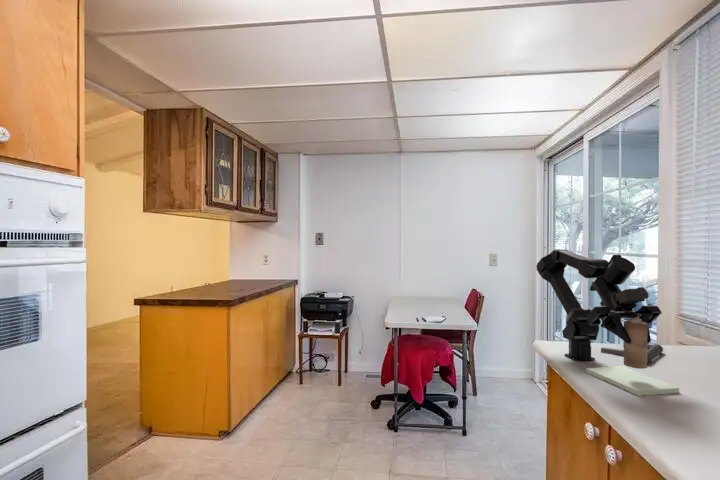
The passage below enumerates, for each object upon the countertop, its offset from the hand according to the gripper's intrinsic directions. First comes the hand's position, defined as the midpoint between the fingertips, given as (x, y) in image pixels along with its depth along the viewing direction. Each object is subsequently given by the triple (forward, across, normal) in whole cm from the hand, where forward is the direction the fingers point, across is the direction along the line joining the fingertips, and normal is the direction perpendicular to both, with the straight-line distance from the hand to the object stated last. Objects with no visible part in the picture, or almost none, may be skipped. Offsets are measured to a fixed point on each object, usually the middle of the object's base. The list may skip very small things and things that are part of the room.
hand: (639, 342), depth 109 cm
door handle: (-10, +20, +28) cm, 36 cm away
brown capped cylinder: (+4, 0, +6) cm, 7 cm away
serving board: (+6, 0, +10) cm, 12 cm away
